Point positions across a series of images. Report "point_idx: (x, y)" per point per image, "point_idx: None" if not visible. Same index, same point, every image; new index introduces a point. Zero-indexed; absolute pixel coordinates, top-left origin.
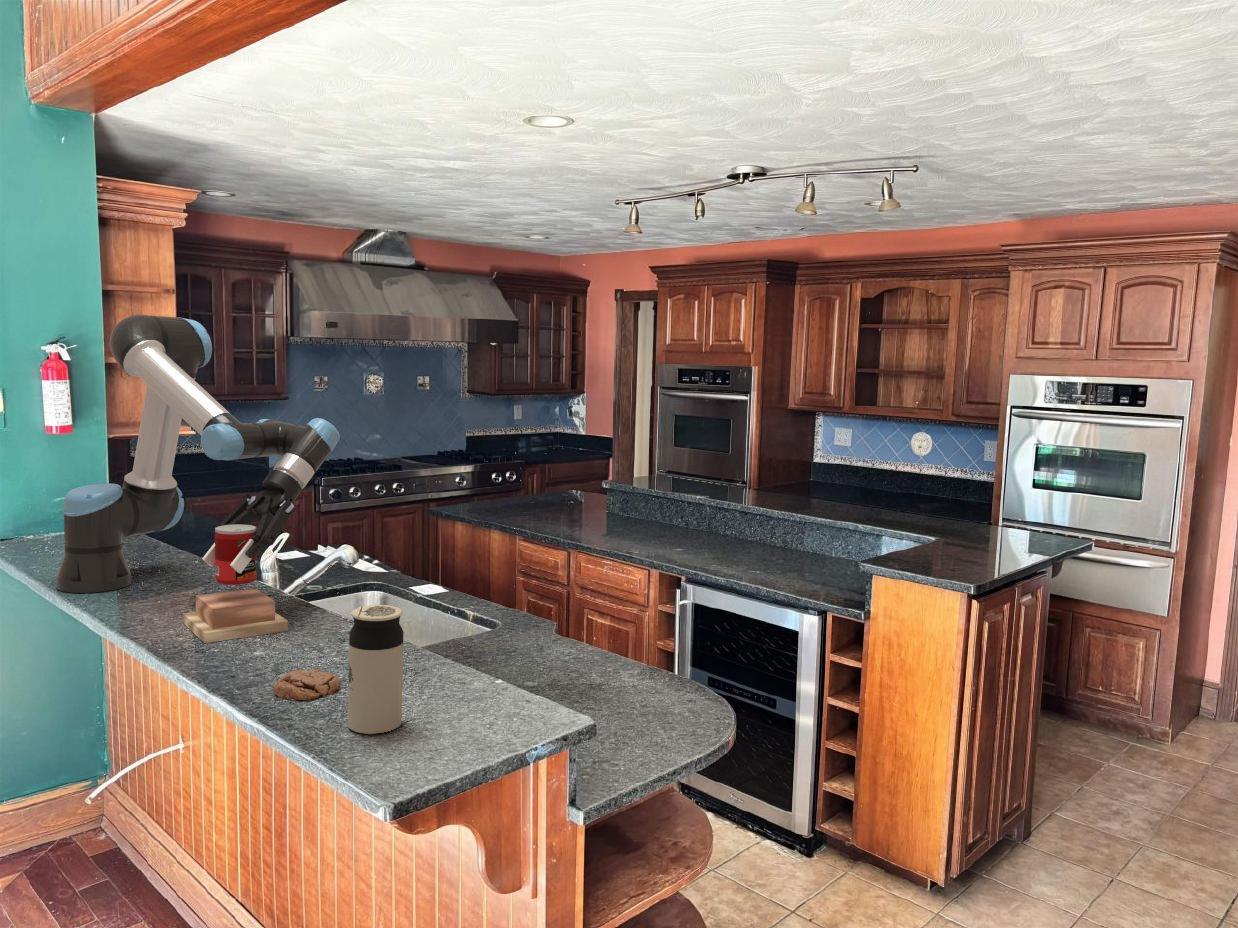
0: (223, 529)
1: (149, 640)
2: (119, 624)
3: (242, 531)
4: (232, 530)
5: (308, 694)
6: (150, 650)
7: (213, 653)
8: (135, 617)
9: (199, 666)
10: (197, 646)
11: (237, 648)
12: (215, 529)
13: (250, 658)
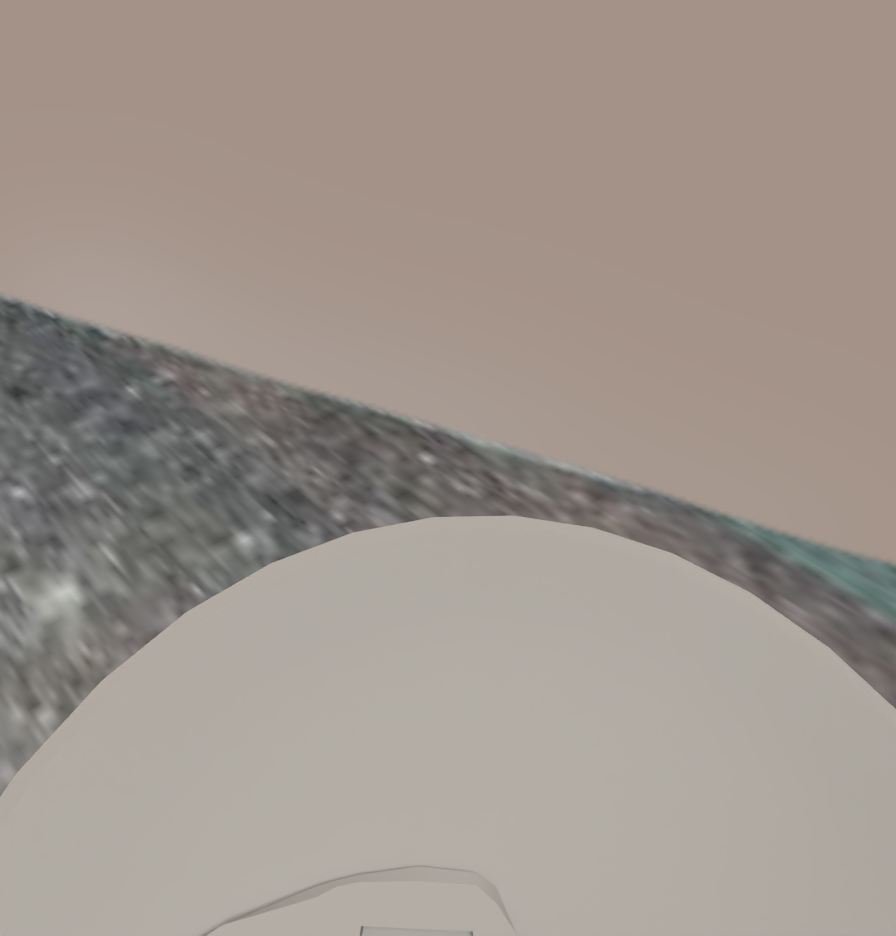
0: (757, 815)
1: (543, 501)
2: (815, 574)
3: (24, 774)
4: (462, 834)
5: None
6: (443, 437)
7: (229, 510)
8: (890, 676)
9: (182, 407)
10: (342, 536)
11: (181, 595)
12: (730, 588)
13: (56, 535)
